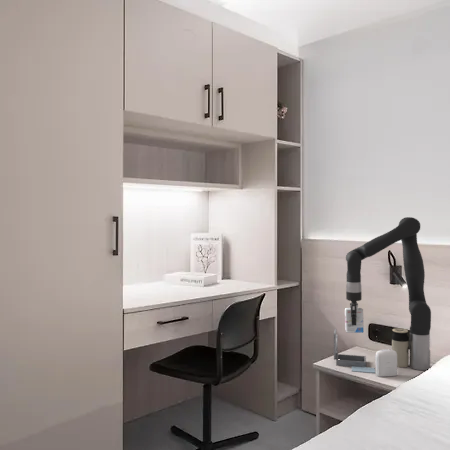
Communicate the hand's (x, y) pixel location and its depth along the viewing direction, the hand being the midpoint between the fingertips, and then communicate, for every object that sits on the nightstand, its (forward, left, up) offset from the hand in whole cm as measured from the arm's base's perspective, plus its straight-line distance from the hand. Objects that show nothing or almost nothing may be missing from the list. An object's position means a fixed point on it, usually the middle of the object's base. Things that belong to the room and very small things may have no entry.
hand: (354, 323), depth 242 cm
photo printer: (-15, +12, -21) cm, 29 cm away
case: (+2, -2, -21) cm, 21 cm away
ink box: (0, 0, -4) cm, 4 cm away
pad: (-4, +7, -21) cm, 23 cm away
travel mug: (-22, -5, -21) cm, 31 cm away
